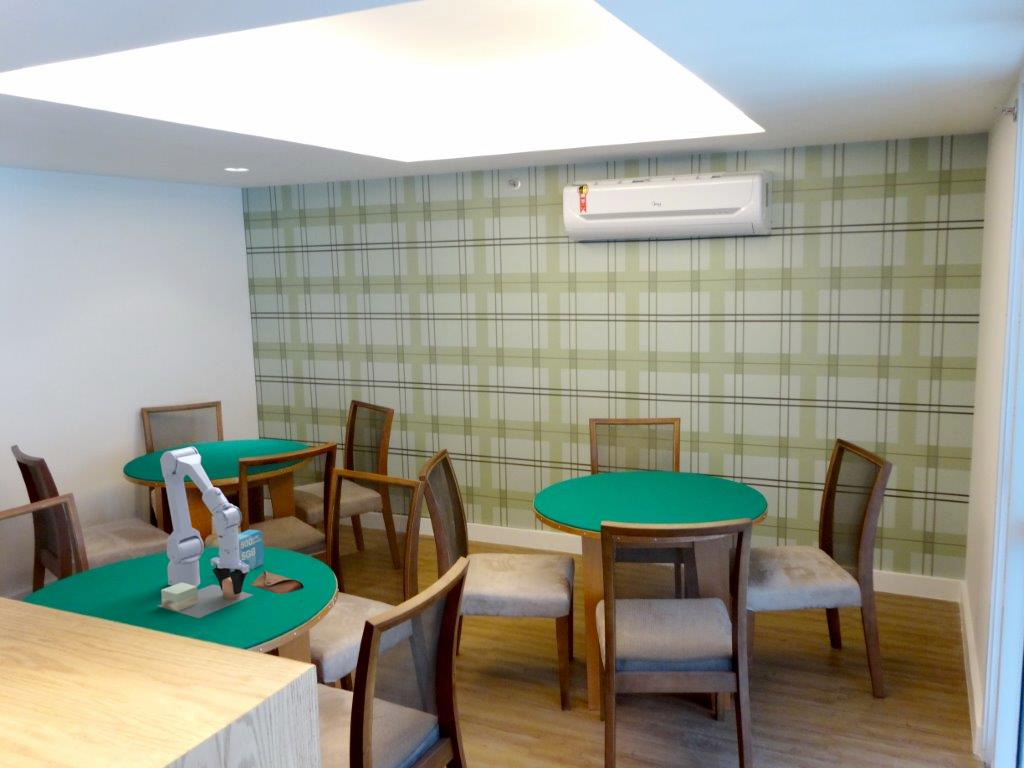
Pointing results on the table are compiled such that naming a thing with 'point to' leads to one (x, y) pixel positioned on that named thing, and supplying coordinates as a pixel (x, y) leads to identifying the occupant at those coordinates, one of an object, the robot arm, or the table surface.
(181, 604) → the birch base slab
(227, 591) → the terracotta cylinder
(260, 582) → the sunglasses case
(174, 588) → the sage top slab
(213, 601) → the slate board
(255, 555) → the data package
